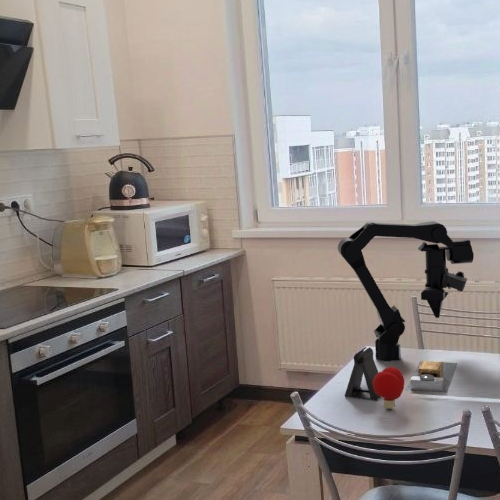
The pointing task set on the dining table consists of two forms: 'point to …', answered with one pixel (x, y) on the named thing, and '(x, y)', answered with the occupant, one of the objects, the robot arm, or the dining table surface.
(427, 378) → the grey stepped plate
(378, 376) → the table tennis paddles
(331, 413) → the dining table surface
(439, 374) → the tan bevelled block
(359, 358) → the dark grey a-frame stand
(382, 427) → the dining table surface
